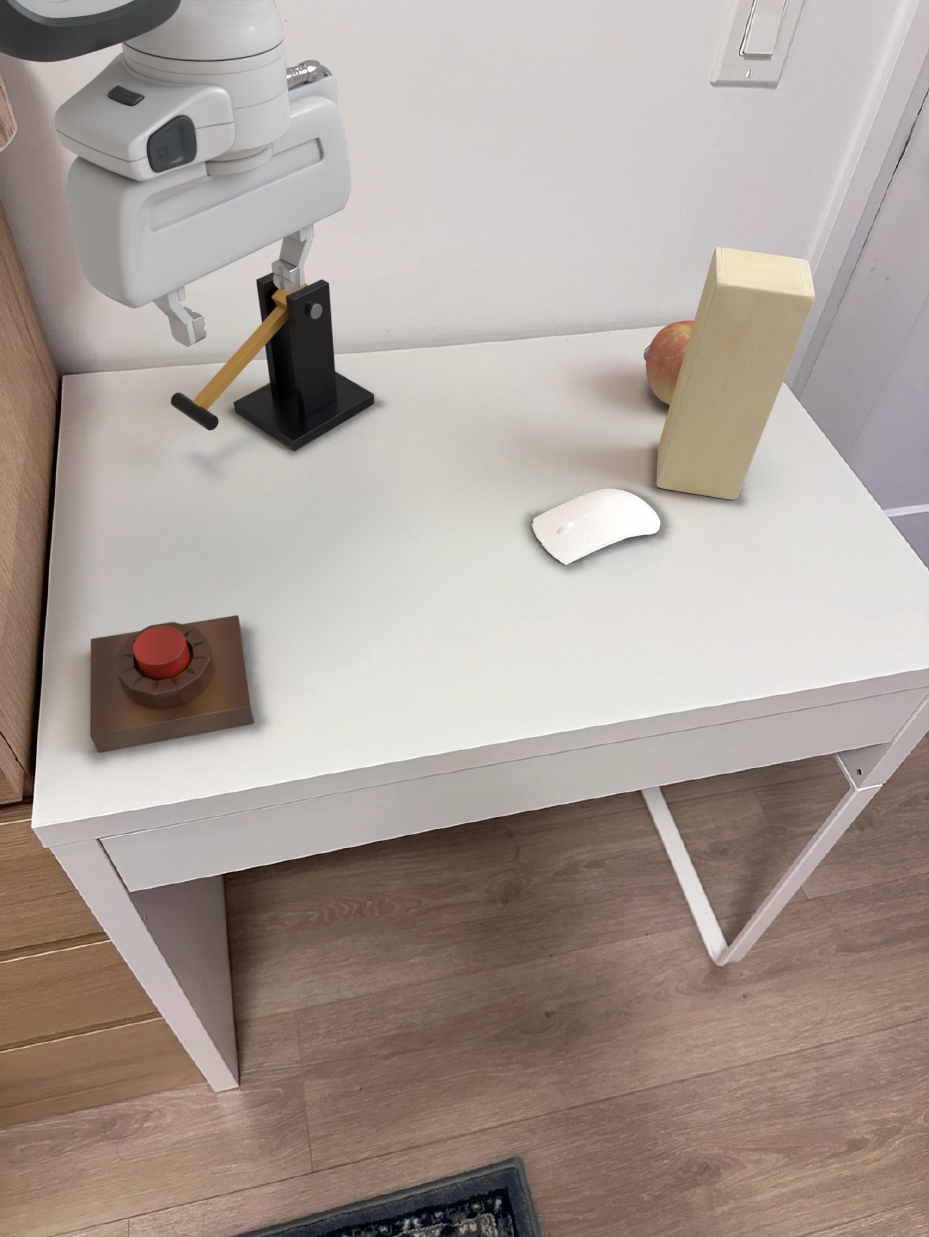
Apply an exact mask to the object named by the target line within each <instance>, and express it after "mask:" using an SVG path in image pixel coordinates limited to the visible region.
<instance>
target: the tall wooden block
mask: <svg viewBox="0 0 929 1237" xmlns="http://www.w3.org/2000/svg"><path fill="white" fill-rule="evenodd" d="M811 270H812V269H811V266H810V261H809V260H807V259H804V258H799V257H792V256H787V255H786V256H785V255H780V254H779V255H778V254H771V253H764V252H757V251H750V250H743V249H737V248H729V247H724V246H723V247H722V246H716V247H715V248H714V250H713V252H712V257H711V260H710V264H709V269H708V271H707V274H706V278H705V282H704V285H703V288H702V292H701V296H700V299H699V303H698V305H697V309H696V313H695V317H694V320H693V321H694V323H693V327H692V330H691V334H690V337H689V341H688V344H687V348H686V351H685V355H684V359H683V362H682V365H681V369H680V372H679V376H678V379H677V383H676V386H675V390H674V393H673V396H672V400H671V404H670V405H669V408H668V411H667V414H666V418H665V422H664V425H663V428H662V430H661V431H662V432H661V434H660V438H659V442H658V446H657V458H656V459H657V461H656V487H657V488H660V489H664V490H671V491H675V492H682V493H688V494H694V495H699V496H700V495H701V496H707V497H713V498H719V499H723V500H736V499H738V497H739V494H740V492H741V490H742V487H743V484H744V482H745V480H746V477H747V474H748V471H749V469H750V467H751V465H752V461H753V459H754V456H755V454H756V451H757V449H758V447H759V444H760V441H761V439H762V436H763V434H764V431H765V429H766V427H767V424H768V421H769V418H770V416H771V414H772V411H773V408H774V406H775V403H776V401H777V398H778V396H779V393H780V390H781V388H782V385H783V383H784V381H785V378H786V377H787V373H788V371H789V368H790V365H791V363H792V360H793V358H794V356H795V353H796V350H797V348H798V345H799V343H800V340H801V338H802V335H803V332H804V330H805V327H806V325H807V322H808V320H809V317H810V315H811V312H812V310H813V307H814V304H815V300H816V293H815V286H814V282H813V276H812V271H811Z"/></svg>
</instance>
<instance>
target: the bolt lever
mask: <svg viewBox="0 0 929 1237" xmlns="http://www.w3.org/2000/svg"><path fill="white" fill-rule="evenodd" d="M308 285H309V284H308V283H306V282H305V284H304V285H303V286H301V287H300V288H297V289H295V290H293V291H292V292H290V293H287V292H285V291H284V290H281V289H278V290H277V291H276V293H275V294H274V295H273V296H272V299H273V300H274V302H275V304H276V305H277V307H276V308H275V309H274V310H273V312H272V313H271V314H270V315H269V316H268V317H267V318H266V319H265V320H264V322H263V323H262V322H261V324H260V325H259V326H258V327H257V328H256V329H255V330H254V331H253V332H252V334H250V336H249V337H248V338H247V339H246V340H245V341H244V342H243V343H242V345H241V346H240V347H239V348H238V349H237V350H236V352H235V353H233V355H232V356H231V357H230V358H229V359H228V361H227V362H226V363H225V364H224V365H223V366H222V367H221V368H220V369H219V370H218V372H216V374H215V375H214V376H213V377H212V378H211V380H209V381H208V383H206V385H205V386H204V387H203V388H202V390H201V391H200V392H199V393H198V394H197V395H196V396H195V398H194V399H191V398H190V397H189V396H187V395H185V394H183V392H175V393H174V394H173V395H172V396H171V398H170V405H171V406H172V407H173V408H175V409H176V410H177V411H179V412H181V413H182V414H184V415H185V416H186V417H187V418H189V419H191V420H192V421H194V422H195V423H197V424H198V425H200V426H201V427H203V428H204V429H206V430H207V431H211V432H212V431H214V430H216V428H217V427H218V425H219V423H220V422H219V420H220V419H219V417H218V416H217V415H215V414H214V413H212V412H211V411H209V408H210V407H211V406H212V405H213V404H214V403H215V402H216V401H217V400H218V398H220V396H221V395H222V394H223V393H224V392H225V391H226V390H227V389H228V387H229V386H230V385H231V384H232V383H233V382H234V380H235V379H236V378H237V377H238V376H239V375H240V374H241V373H242V371H243V370H244V369H245V368H246V367H248V365H249V364H250V363H251V362H252V360H253V359H254V358H256V356H257V355H258V354H259V353H260V351H261V350H262V349H263V348H265V344H266V343H267V342H268V341H269V340H270V339H271V338H272V337H273V335H274V334H275V333H276V332H277V331H278V330H279V329H280V328H281V326H282V325H283V324H284V323H285V322H286V321H287V320H288V313H287V304H286V296H287V295H289V294H291V293H293V292H296V291H298V290H300V289H302V288H304V287H306V286H308Z"/></svg>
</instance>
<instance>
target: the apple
mask: <svg viewBox="0 0 929 1237" xmlns="http://www.w3.org/2000/svg"><path fill="white" fill-rule="evenodd" d="M693 323H694V320H680V321H675V322H672V323H670V324H668V325H666V326H664V327H663V328H661V330H659V331H658V332H657V333H656V335H655V336H654V337H653V339H652V341H651V342H650V344H649V347H648V350H647V353H646V358H645V371H646V372H645V373H646V374H645V375H646V378H647V382H648V385H649V387H650V389H651V391H652V392H653V395H655V397H656V398H657V399H658V400H659V401H661V402H662V403H664V404H665V405H668V406H670V404H671V400H672V396H673V393H674V390H675V386H676V383H677V379H678V376H679V372H680V369H681V365H682V362H683V359H684V355H685V351H686V348H687V344H688V341H689V337H690V334H691V330H692V327H693Z"/></svg>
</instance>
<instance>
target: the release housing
mask: <svg viewBox="0 0 929 1237" xmlns="http://www.w3.org/2000/svg"><path fill="white" fill-rule="evenodd" d="M239 616H240V615H238V614H237V615H236V614H235V615H229V616H223V617H218V618H217V617H216V618H210V619H205V620H204V619H203V620H198V621H192V622H187V623H180V622H176V621H170V622H163V623H158V624H150V625H147V626H146V627H144V628H143V629H141V630H138V631H131V632H125V633H119V634H113V635H105V636H101V637H94V638H90V686H89V687H90V695H89V698H90V699H89V700H90V703H89V704H90V705H89V707H90V709H89V713H90V714H89V715H90V716H89V729H90V730H89V737H90V738H91V741H92V743H93V745H94V747H95V749H96V751H97V752H98V753H105V752H109V751H115V750H120V749H126V748H131V747H135V746H141V745H146V744H153V743H158V742H164V741H168V740H175V739H179V738H185V737H190V736H196V735H200V734H206V733H211V732H216V731H222V730H226V729H232V728H237V727H242V726H248V725H253V724H255V717H254V716H255V715H254V708H253V702H252V694H251V686H250V680H249V672H248V666H247V659H246V652H245V650H246V649H245V643H244V636H243V629H242V626H241V620H240V617H239ZM157 626H170V627H174V628H176V629H178V630H180V631H181V632H182V633H183V635H184V637H185V639H186V643H187V646H188V649H189V653H190V660H189V663H188V665H187V667H186V668H185V669H184V670H183V671H182V672H181V673H180V674H178V675H176V676H174V677H172V678H168V679H162V680H158V679H152V678H149V677H147V676H146V675H144V674H143V673H142V672H141V670H140V668H139V666H138V663H137V660H136V658H135V655H134V652H133V647H134V643H135V641H136V639H137V638H138V637H139V636H140V635H141V634H142V633H143V632H145V631H146V630H148V629H151V628H153V627H157Z"/></svg>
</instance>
